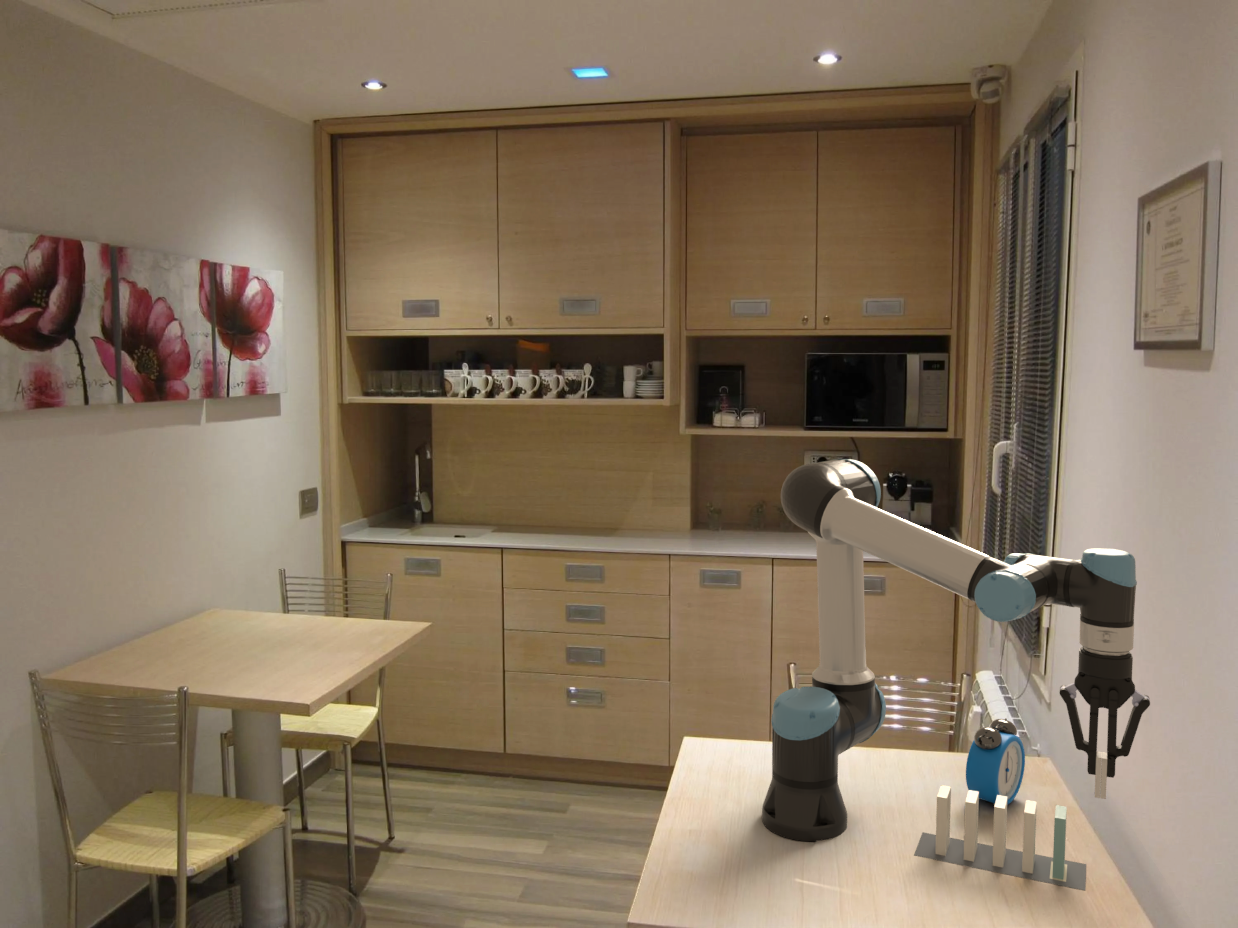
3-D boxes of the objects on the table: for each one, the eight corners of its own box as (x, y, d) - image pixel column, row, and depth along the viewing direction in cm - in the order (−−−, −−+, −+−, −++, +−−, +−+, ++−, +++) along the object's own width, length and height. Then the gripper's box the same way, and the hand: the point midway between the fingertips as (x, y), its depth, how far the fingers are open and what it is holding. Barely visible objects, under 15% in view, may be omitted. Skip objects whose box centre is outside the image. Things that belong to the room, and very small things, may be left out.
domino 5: (1064, 865, 160) (1066, 806, 159) (1063, 879, 155) (1065, 819, 154) (1053, 863, 161) (1055, 804, 160) (1052, 877, 156) (1054, 817, 155)
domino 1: (935, 853, 164) (936, 796, 163) (939, 840, 169) (941, 784, 168) (945, 855, 163) (946, 798, 162) (949, 842, 168) (951, 786, 167)
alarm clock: (995, 816, 178) (997, 737, 177) (962, 806, 182) (964, 728, 181) (1024, 794, 187) (1027, 718, 186) (993, 785, 192) (995, 710, 190)
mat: (913, 856, 164) (913, 854, 164) (922, 833, 172) (922, 831, 172) (1085, 892, 152) (1085, 890, 152) (1086, 865, 160) (1086, 863, 160)
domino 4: (1022, 871, 158) (1024, 811, 157) (1024, 857, 163) (1026, 799, 162) (1032, 873, 157) (1034, 813, 156) (1034, 859, 162) (1036, 801, 161)
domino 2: (963, 859, 162) (965, 801, 161) (967, 846, 167) (968, 789, 166) (973, 861, 161) (975, 803, 160) (977, 848, 166) (978, 791, 165)
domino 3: (992, 865, 160) (994, 806, 159) (995, 851, 165) (997, 794, 164) (1002, 867, 159) (1004, 808, 158) (1005, 853, 164) (1007, 796, 163)
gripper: (1058, 650, 151) (1053, 796, 154) (1154, 660, 146) (1148, 812, 148) (1060, 638, 158) (1055, 778, 160) (1152, 647, 152) (1146, 792, 155)
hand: (1100, 794), depth 154 cm, fingers closed
